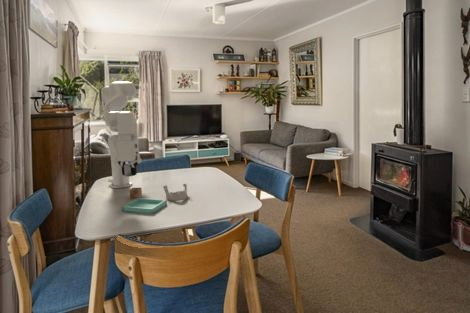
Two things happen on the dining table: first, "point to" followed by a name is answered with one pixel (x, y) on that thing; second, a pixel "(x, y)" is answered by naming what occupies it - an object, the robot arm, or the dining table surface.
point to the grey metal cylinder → (127, 170)
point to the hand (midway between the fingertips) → (129, 174)
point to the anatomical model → (176, 194)
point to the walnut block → (135, 193)
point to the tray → (144, 205)
